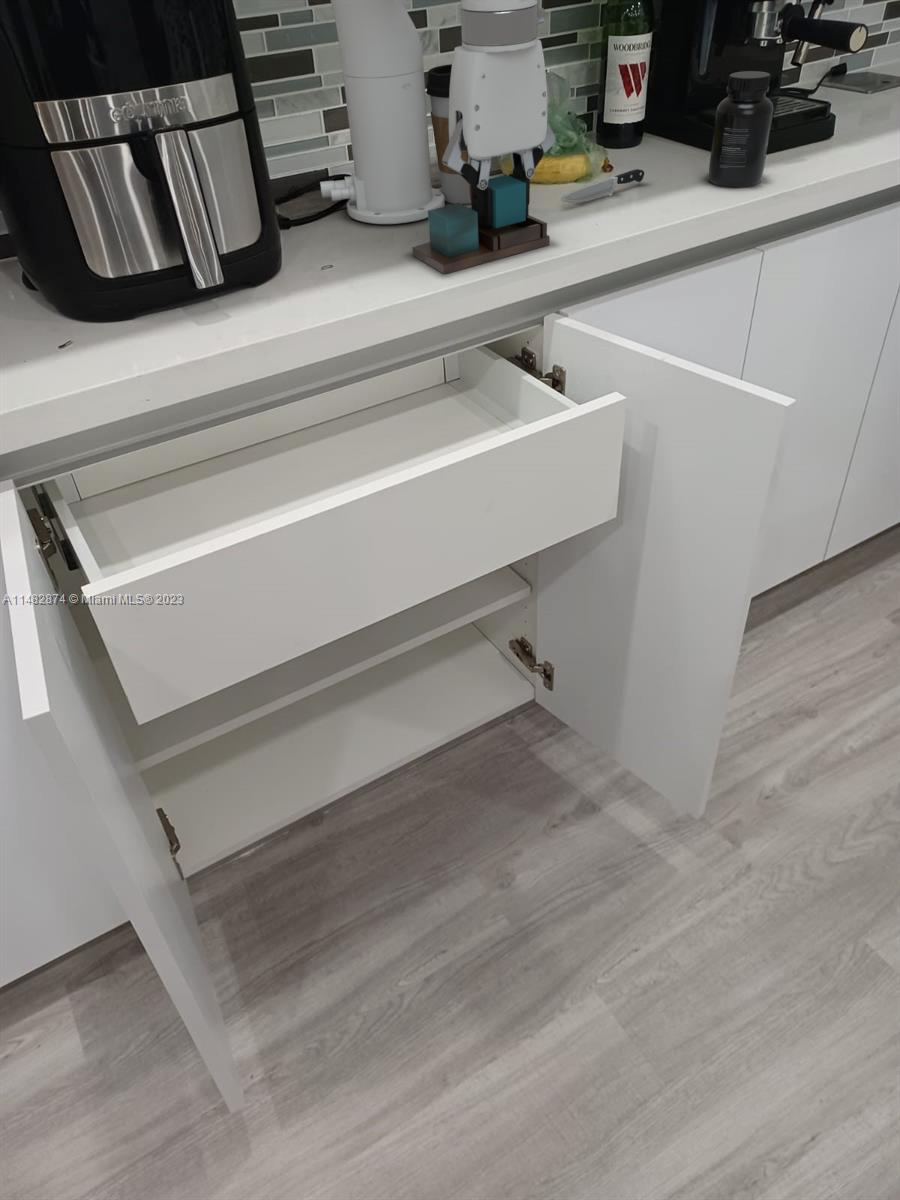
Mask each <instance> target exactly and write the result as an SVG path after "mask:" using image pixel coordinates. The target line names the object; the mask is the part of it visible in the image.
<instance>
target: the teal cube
mask: <svg viewBox="0 0 900 1200" xmlns="http://www.w3.org/2000/svg"><path fill="white" fill-rule="evenodd" d="M488 187H489V188H491V189H492V192H493V224H492V226H493V227H495V228H499V227H503V226H507V225H511V224H515V223H519V222H522V221H526V183H524V182H522V181H520V180H517V179H515V178H513V177H510V176H509V174H503V175H500V176H495V177H491V178H489V181H488Z"/></svg>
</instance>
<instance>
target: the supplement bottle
mask: <svg viewBox="0 0 900 1200" xmlns="http://www.w3.org/2000/svg"><path fill="white" fill-rule="evenodd" d="M770 80H771V74H770V73H769V72H765V71H758V70H754V71H753V70H745V71H737V72H736V71H735V72H733V73H731V74H729V75H728V82H727V87H726V93H727V97H725V98H724V99H722V101H720V103H718V104H717V107H716V111H715V118H714V126H713V134H712V143H711V150H710V157H709V165H708V167H709V168H708V177H707V178H708V180H709V181H710V182H711V183H712V184H714V185H716V186H720V187H727V188H742V187H744V188H745V187H749V186H753V185H756V184H759V182H761V180H762V179H763V175H764V170H765V166H766V160H767V154H768V153H767V152H768V147H769V140H770V135H771V130H772V129H771V127H772V123H773V115H774V104H773V101H771V100H770V98H768V97H767V96H766V95H767V94H768V92H769V91H770V86H769V85H770Z"/></svg>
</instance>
